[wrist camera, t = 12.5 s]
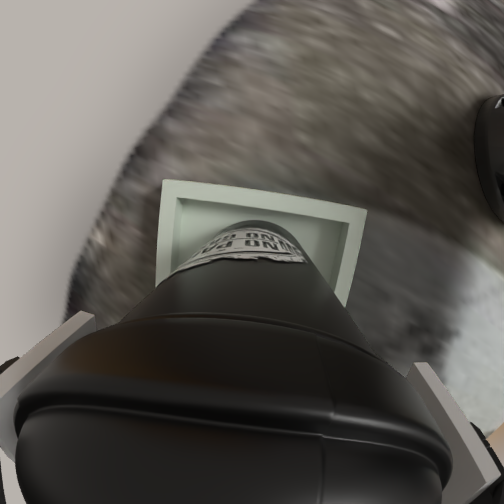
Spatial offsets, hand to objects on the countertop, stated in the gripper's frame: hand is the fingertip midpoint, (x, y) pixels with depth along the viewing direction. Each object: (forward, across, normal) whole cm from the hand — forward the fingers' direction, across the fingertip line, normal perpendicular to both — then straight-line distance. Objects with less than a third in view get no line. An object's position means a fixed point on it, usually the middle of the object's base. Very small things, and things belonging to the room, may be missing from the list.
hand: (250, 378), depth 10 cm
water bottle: (+14, -1, 0) cm, 14 cm away
